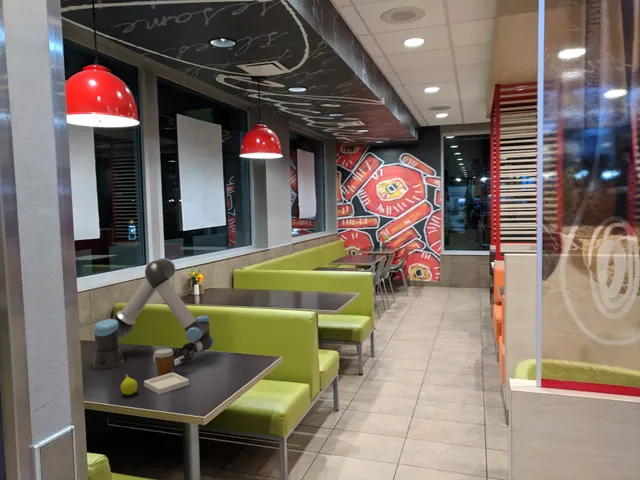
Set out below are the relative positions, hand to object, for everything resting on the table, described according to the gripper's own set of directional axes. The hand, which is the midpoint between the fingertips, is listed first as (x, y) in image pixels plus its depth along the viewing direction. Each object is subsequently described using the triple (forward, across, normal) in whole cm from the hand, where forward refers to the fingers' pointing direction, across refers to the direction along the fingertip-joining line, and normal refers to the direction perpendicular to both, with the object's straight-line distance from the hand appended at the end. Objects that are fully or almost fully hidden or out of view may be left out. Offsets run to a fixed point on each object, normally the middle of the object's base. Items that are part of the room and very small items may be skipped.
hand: (164, 361), depth 233 cm
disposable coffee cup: (0, 0, -7) cm, 7 cm away
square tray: (+11, -11, -7) cm, 17 cm away
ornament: (+26, -3, -7) cm, 27 cm away
